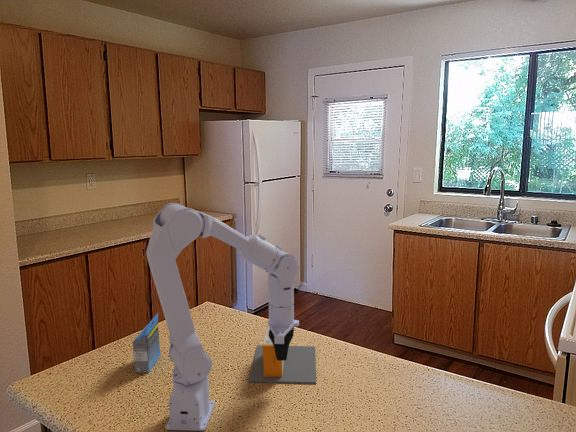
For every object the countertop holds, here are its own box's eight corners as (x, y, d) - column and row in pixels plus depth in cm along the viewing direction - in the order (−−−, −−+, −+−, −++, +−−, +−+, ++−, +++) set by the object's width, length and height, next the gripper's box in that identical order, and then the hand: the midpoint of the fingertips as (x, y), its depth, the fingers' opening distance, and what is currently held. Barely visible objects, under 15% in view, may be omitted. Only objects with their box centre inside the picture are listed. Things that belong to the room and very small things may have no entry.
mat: (316, 383, 101) (316, 382, 101) (248, 382, 102) (248, 380, 102) (315, 347, 119) (315, 346, 119) (257, 346, 120) (257, 345, 120)
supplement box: (262, 377, 103) (268, 351, 116) (282, 377, 103) (286, 351, 116) (261, 345, 102) (267, 322, 115) (281, 344, 102) (285, 322, 115)
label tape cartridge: (146, 355, 115) (143, 311, 113) (161, 355, 115) (158, 312, 113) (134, 373, 106) (130, 326, 104) (149, 373, 106) (146, 326, 104)
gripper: (297, 316, 90) (298, 376, 92) (299, 292, 104) (299, 344, 107) (264, 315, 90) (265, 375, 93) (270, 292, 105) (271, 344, 107)
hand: (281, 359), depth 100 cm, fingers closed
